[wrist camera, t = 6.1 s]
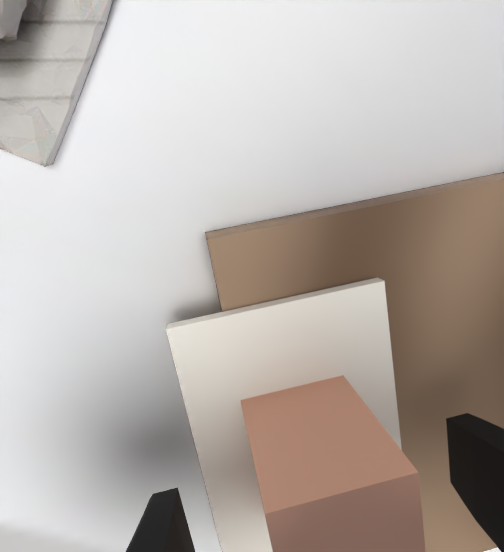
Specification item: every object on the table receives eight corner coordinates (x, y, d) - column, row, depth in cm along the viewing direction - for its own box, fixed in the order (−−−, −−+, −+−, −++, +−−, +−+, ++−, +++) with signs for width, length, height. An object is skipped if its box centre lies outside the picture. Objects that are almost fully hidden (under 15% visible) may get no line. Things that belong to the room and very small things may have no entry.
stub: (377, 277, 12) (486, 334, 7) (404, 530, 14) (499, 687, 10) (166, 324, 11) (151, 415, 7) (230, 580, 13) (249, 769, 9)
